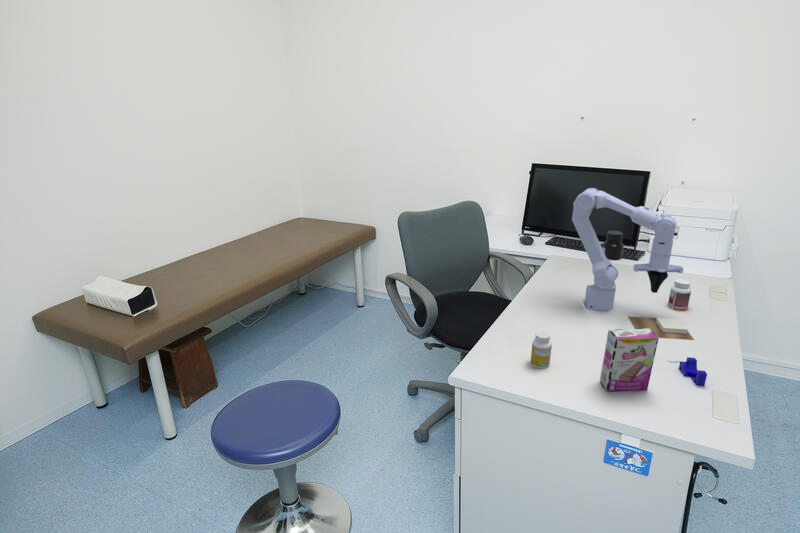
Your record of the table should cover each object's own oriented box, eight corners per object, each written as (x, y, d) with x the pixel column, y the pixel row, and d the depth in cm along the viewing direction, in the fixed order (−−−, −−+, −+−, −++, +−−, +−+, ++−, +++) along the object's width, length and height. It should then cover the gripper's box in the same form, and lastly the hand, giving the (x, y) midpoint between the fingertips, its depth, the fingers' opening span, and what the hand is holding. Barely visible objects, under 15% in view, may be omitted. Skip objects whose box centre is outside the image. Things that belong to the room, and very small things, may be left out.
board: (638, 339, 147) (639, 336, 146) (627, 318, 159) (627, 316, 159) (694, 342, 144) (694, 340, 143) (677, 321, 156) (678, 319, 156)
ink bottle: (607, 252, 223) (611, 228, 219) (625, 256, 217) (629, 232, 213) (597, 257, 218) (600, 232, 213) (615, 261, 211) (619, 236, 207)
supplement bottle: (535, 356, 139) (537, 328, 135) (552, 362, 135) (555, 333, 132) (527, 364, 135) (530, 335, 131) (545, 370, 132) (548, 341, 128)
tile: (663, 327, 147) (687, 329, 146) (656, 317, 154) (679, 319, 152) (662, 332, 148) (686, 334, 147) (655, 322, 154) (678, 323, 153)
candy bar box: (607, 392, 121) (616, 338, 116) (599, 381, 126) (607, 328, 120) (649, 391, 122) (660, 336, 116) (639, 380, 126) (649, 327, 121)
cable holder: (678, 369, 131) (681, 356, 130) (692, 369, 130) (694, 357, 129) (689, 385, 124) (692, 373, 122) (704, 386, 123) (707, 374, 122)
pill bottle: (690, 310, 164) (696, 282, 160) (681, 315, 161) (687, 286, 157) (672, 304, 169) (678, 276, 165) (663, 308, 166) (669, 280, 162)
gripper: (640, 256, 148) (634, 295, 153) (689, 258, 145) (681, 297, 150) (634, 249, 155) (628, 286, 159) (681, 251, 152) (674, 288, 157)
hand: (653, 291), depth 155 cm, fingers closed
